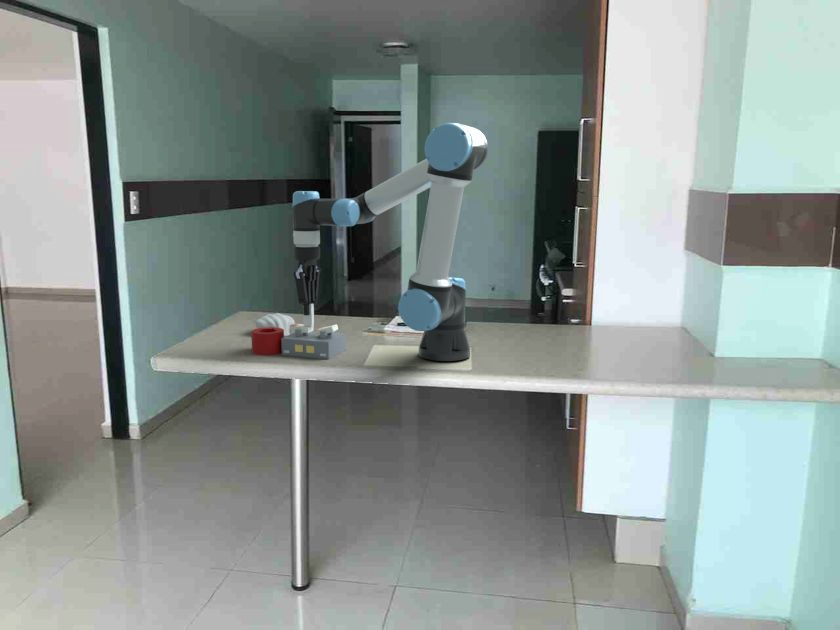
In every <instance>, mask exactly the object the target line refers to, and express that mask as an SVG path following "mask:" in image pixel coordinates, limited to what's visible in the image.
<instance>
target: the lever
mask: <svg viewBox="0 0 840 630" xmlns="http://www.w3.org/2000/svg"><path fill="white" fill-rule="evenodd" d="M250 333H251V334H250V335H251V353H252V354H254V355H258V356H274V355H275V356H276V355H279V354H282V342H281V338H283V337H286V336H284V329H282V328H276V327H264V328H257V327H256V328H255V329H252V330H251V332H250Z"/></svg>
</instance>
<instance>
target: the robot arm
mask: <svg viewBox="0 0 840 630" xmlns="http://www.w3.org/2000/svg"><path fill="white" fill-rule="evenodd" d="M488 153H489V144H488V140H487V138H486V136H485V134H484V133H482V131H480V130H479V129H478V128H476V127H474V126H470V125H466V124H463V123H458V122H447V123H442V124H439V125H437V126H436V127H435V128H433V129H432V130H431V131H430V132H429V134H428V136H427V137H426V139H425V143H424V155H425V159H423V160H421V161H420V162H418V163H415V164H414V165H412V166H411V167H408V168H406V169H405V170H403V171H401V172H399V173H398V174H396V175H394V176H393V177H390V178H388V179H387V180H385V181H383V182H381V183H380V184H377V185H376V186H374V187H373V188H370V189H369V190H367V191H365V192H363V193H361V194H360V195H358V196H356V197H351V198H320V193H319V192H318V191H315V190H314V191H313V190H310V191H309V190H308V191H307V190H305V191H303V190H298V191H295V192H293V194H292V206H291V209H292V222H293V223H292V225H293V233H292V237H293V244H294V245H295V246H294V247H293V259H294V260H298V263H297V271H293V274H292V275H293V277H294V279H295V280H294V281H295V285H296V292H297V293H296V294H297V300H298V304H300V305H302V313H303V315H302V317H303V318H302V320H303V323H302V324H303V326H315V312H314V311H315V308H314V307H315V306H314V305H315V304H317V303H318V301H317V300H318V295H319V286H320V285H319V282H320V274H321V269H322V268H321V267H319V266H317V261H318V260H319V259H320V258H321V247H320V246H319V245H320V244H321V235H320V234H321V232H320V231H321V230H320V226H329V227H330V226H332V227H340V228H343V227H344V228H345V227H354V226H355V225H358V224H359V225H362V224H363V225H364V224H367V223H370V222H372V221H374V220H375V218H376V217H377V216H378V215H381V214H383V213H384V212H386V211H388V210H390V209H392V208H393V207H396V206H397V205H399V204H402V203H403V202H405V201H407V200H409V199H411V198H413V197H415V196H416V195H419V194H421V193H422V192H425V191H426V190H429V189H430V190H429V194H428V195H429V196H428V201H427V206H426V211H425V212H426V213H425V218H424V224H423V229H422V235H421V242H420V246H419V253H418V259H417V260H418V261H417V264H416V265H417V266H416V271H414V272H413V273H412V274H411V275H409V277H408V284H407V290H406V291H405V292H404V293H403V294H401V297H400V299H399V301H398V307H397V310H398V315H399V317H400V320H402V322H403V323H404V325H406V326H407V327H408V328H410V329H411V330H413V331H417V332H423V334H422V336H421V339H420V343H419V345H418V356H419V357H420V358H423V359H425V360H429V361H439V362H456V361H461V360H465V359H468V358H470V357H471V346H470V343H469V340H468V339H469V338H468V336H467V333H466V325H465V324H466V295H467V294H466V293H467V288H466V281H465V280H464V278H461V277H451V276H450V277H449V274H450V273H449V272H450V267H451V261H452V255H453V251H454V246H455V241H456V236H457V235H456V234H457V228H458V223H459V218H460V214H461V213H460V212H461V208H462V207H461V206H462V202H463V195H464V189H465V187H466V186H468V185H469V184H470V183H472V179H473V174H474V170H477V169H478V168H480V167H481V166H482V165H483V163H485V161H486V159H487V157H488Z"/></svg>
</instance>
